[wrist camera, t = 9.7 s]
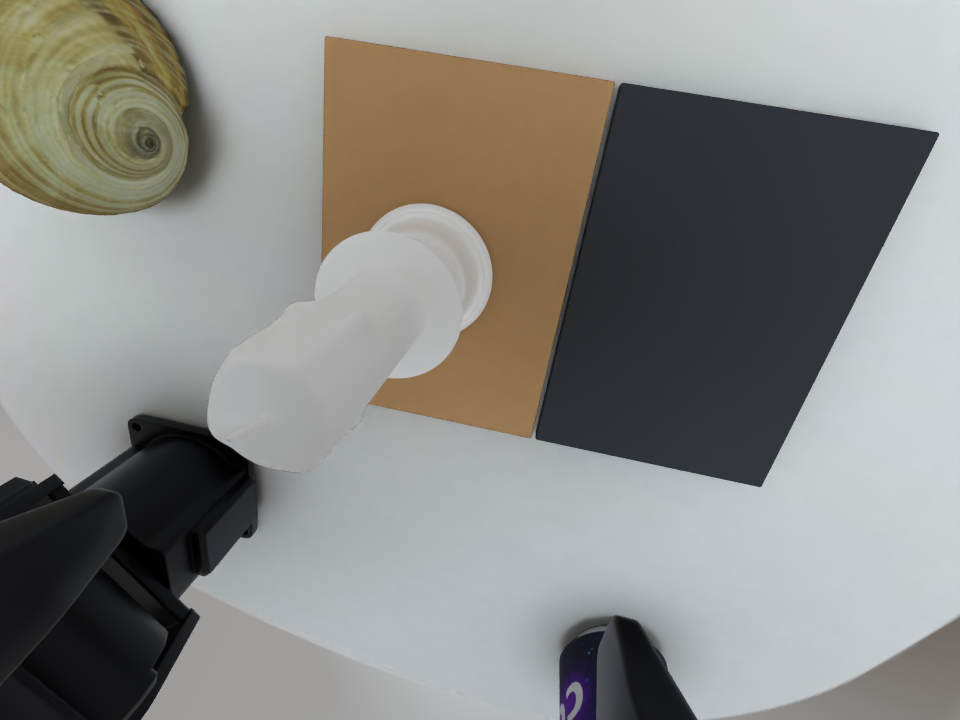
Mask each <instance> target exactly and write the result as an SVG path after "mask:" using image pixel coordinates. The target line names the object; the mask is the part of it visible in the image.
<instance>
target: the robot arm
mask: <svg viewBox="0 0 960 720" xmlns="http://www.w3.org/2000/svg"><path fill="white" fill-rule="evenodd" d="M128 428H129V433H130V439H131V444H132V447H131V448H129V449H128V450H126V451H125V452H123V453H122V454H121V455H119V456H118V457H116V458H115V459H113V460H112V461H110V462H109V463H108V464H106V465H105V466H103V467H102V468H100V469H99V470H98V471H96V472H95V473H93V474H92V475H90V476H89V477H87V478H86V479H85V480H83V481H82V482H80V483H79V484H77V485H76V486H74V487H73V488H72V489H70V490H69V491H68V490H67V489H66V488H65V487H64V486H63V484H64V482H63V481H62V480H61V479H60V478H59V477H58V476H57V475H56V474H53V475H52V476H50V477H49V478H47V479H46V480H44V481H43V482H41V483H39V484H37V483H36V482H35V481H33V482H31V481H28V480H24V479H21V478H18V477H15V478H13V479H11V480H10V481H8V482H6V483H5V484H3V485H1V486H0V720H141V719H142V717H143V716H144V714H145V713H146V712H147V710H148V709H149V707H150V706H151V704H152V703H153V701H154V699H155V698H156V696H157V694H158V692H159V690H160V689H161V687H162V685H163V683H164V681H165V680H166V678H167V676H168V674H169V672H170V671H171V668H172V667H173V665H174V663H175V662H176V660H177V658H178V656H179V654H180V653H181V651H182V649H183V647H184V645H185V644H186V642H187V640H188V638H189V636H190V635H191V633H192V631H193V629H194V627H195V625H196V624H197V622H198V620H199V618H200V616H199V615H198V614H197V613H196V612H195V611H194V610H193V609H192V608H191V609H189V608H188V607H186V606H185V605H184V604H183V603H182V602H181V601H180V600H179V598H180V596H181V595H182V594H183V593H184V592H185V590H186V589H187V588H188V587H189V586H190V585H191V583H192V582H193V581H194V580H195V579H196V578H197V576H198V575H201V576H206V575H208V574H210V573H211V572H212V571H213V570H214V568H215V567H216V566H217V565H218V564H219V562H220V561H221V560H222V559H223V557H224V556H225V555H226V554H227V553H228V551H229V550H230V549H231V548H232V547H233V545H234V544H235V543H236V542H237V540H238V539H239V538H240V537H242V538H250V537H251V536H252V535H253V534H254V533H255V531H256V529H257V526H256V517H257V502H256V484H255V480H254V474H253V462H252V461H250V460H248V459H246V458H245V457H243V456H242V455H240V454H239V453H238V452H237V451H235V450H234V449H233V448H231V447H230V446H228V445H226V444H224V443H222V442H220V441H219V440H217V439H216V438H215V437H214V436H213V435H212V433H211V432H210V430H207V429H203V428H198V427H194V426H189V425H185V424H180V423H176V422H171V421H167V420H162V419H158V418H153V417H149V416H144V415H137V416H135V417H133V418H132V419H130V420H129V421H128ZM596 720H697V718H696V716H695V715H694V713H693V711H692V710H691V708H690V706H689V705H688V703H687V701H686V700H685V698H684V696H683V695H682V693H681V691H680V690H679V688H678V687H677V685H676V683H675V682H674V680H673V678H672V677H671V675H670V673H669V672H668V670H667V668H666V667H665V665H664V663H663V662H662V660H661V658H660V657H659V655H658V653H657V652H656V650H655V648H654V647H653V645H652V643H651V642H650V640H649V638H648V637H647V635H646V633H645V632H644V630H643V628H642V627H641V625H640V624H639V623H638V622H637V621H636V620H634V619H630V618H626V617H622V616H618V615H614V616H613V617H612V618H611V619H610V621H609V623H608V626H607V628H606V631H605V633H604V635H603V638H602V640H601V642H600V645H599V649H598V655H597V703H596Z"/></svg>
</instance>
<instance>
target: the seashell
mask: <svg viewBox="0 0 960 720" xmlns="http://www.w3.org/2000/svg"><path fill="white" fill-rule="evenodd" d="M173 45H174V43H173V40H172V38H171V37H170V36H169V34H168V33H167V32H166V31H164V30H163V28H162V27H161V25H160V23H159V21H158V19H157V17H156V16H155V14H154V13H153V12H152V11H151V10H150V9H149V8H148V7H146V6H145V5H144V4H143V3H142V2H141V1H140V0H0V183H2V184H3V185H5V186H7V187H8V188H10V189H11V190H12V191H15V192H17V193H19V194H21V195H23V196H25V197H27V198H29V199H31V200H33V201H36V202H39V203H41V204H44V205H47V206H51V207H54V208H57V209H60V210H65V211H70V212H75V213H80V214H92V215H118V214H124V213H130V212H136V211H140V210H143V209H146V208H149V207H151V206H153V205H155V204H157V203H159V202H161V201H162V200H163V199H164V198H166V197H167V196H168V195H169V194H170V193H171V192H172V191H173V190H174V189H175V187H176V186H177V184H178V183H179V181H180V179H181V178H182V175H183V172H184V170H185V167H186V163H187V157H188V146H189V137H188V133H187V130H186V127H185V124H184V122H183V118H182V115H183V112H184V110H185V109H186V108H187V107H188V105H189V104H190V103H189V91H188V84H187V78H186V72H185V70H184V67H183V64H182V62H181V60H180V59H179V57H178V54H177V51H176V49H175V48H174V46H173Z"/></svg>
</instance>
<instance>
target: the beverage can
mask: <svg viewBox="0 0 960 720" xmlns="http://www.w3.org/2000/svg"><path fill="white" fill-rule="evenodd" d="M606 628H607V626H599V627H594V628H591V629H588V630H586V631H584V632H583V633H581V634H580V635H579V636H578V637H577V638H576V639H575V640H573V641H572V642H570V643H569V644H568V645H567V646H566V647H565V648H564V650H563V652H562V653H561V656H560V661H559V675H560V720H596V703H597V655H598V649H599V645H600V642H601V640H602V638H603V635H604V633H605V631H606ZM653 647H654V646H653ZM654 648H655V647H654ZM655 650H656V652H657V653H658V655H659V657H660V658H661V660H662V662H663V663H664V665H665V667H666V668H667V664H666V661H665V659H664V657H663V656H662V654H661V653H660V652H659V651H658V650H657V649H656V648H655ZM667 670H668V668H667Z"/></svg>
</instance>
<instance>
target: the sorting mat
mask: <svg viewBox="0 0 960 720" xmlns="http://www.w3.org/2000/svg"><path fill="white" fill-rule="evenodd" d="M614 86H615V82H614V81H608V80H602V79H596V78H589V77H583V76H577V75H570V74H564V73H558V72H551V71H545V70H538V69H532V68H526V67H519V66H513V65H507V64H500V63H494V62H488V61H481V60H475V59H469V58H462V57H456V56H449V55H443V54H437V53H430V52H424V51H418V50H411V49H405V48H399V47H392V46H386V45H380V44H373V43H367V42H360V41H354V40H348V39H341V38H335V37H329V36H326V37H325V66H324V138H323V210H322V262H323V261H324V259H325V258H326V256H327V255H328V254H329V252H330V251H331V250H332V249H333V248H334V247H335V246H337V245H338V244H339V243H340V242H342V241H343V240H345V239H347V238H349V237H351V236H353V235H356V234H359V233H362V232H367V231H370V230H371V228H372V227H373V226H374V225H375V223H376V222H377V221H378V220H379V219H380V218H382V217H383V216H384V215H385V214H387V213H388V212H390V211H392V210H394V209H396V208H399V207H401V206H405V205H409V204H418V203H424V204H433V205H437V206H441V207H444V208H447V209H449V210H451V211H453V212H455V213H457V214H458V215H460V216H461V217H462V218H464V219H465V220H466V221H467V222H469V223H470V224H471V225H472V226H473V228H474V229H475V230H476V231H477V232H478V234H479V235H480V237H481V238H482V240H483V242H484V243H485V245H486V248H487V250H488V253H489V256H490V260H491V264H492V274H493V278H492V288H491V292H490V296H489V299H488V301H487V304H486V306H485V308H484V309H483V311H482V312H481V314H480V315H479V316H478V318H477V319H476V320H475V321H474V322H473V323H472V324H470V325H469V326H468V327H466V328H465V329H463V330H462V331H460V334H459V337H458V340H457V342H456V344H455V346H454V348H453V349H452V351H451V352H450V354H449V355H448V356H447V357H446V358H445V359H444V360H443V361H442V362H441V363H440V364H439V365H438V366H436V367H435V368H433V369H432V370H430V371H428V372H426V373H423V374H421V375H418V376H414V377H409V378H387V379H386V381H385V382H384V383H383V385H382V386H381V387H380V389H379V390H378V391H377V393H376V394H375V395H374V397H373V398H372V399H371V401H370V402H369V403H368V404H372V405H377V406H381V407H386V408H391V409H396V410H400V411H405V412H410V413H414V414H419V415H424V416H428V417H433V418H438V419H442V420H447V421H452V422H457V423H461V424H466V425H471V426H475V427H480V428H485V429H489V430H494V431H499V432H504V433H508V434H513V435H518V436H522V437H527V438H531V436H532V432H533V427H534V423H535V419H536V415H537V411H538V406H539V402H540V398H541V394H542V389H543V385H544V381H545V377H546V373H547V368H548V364H549V360H550V356H551V351H552V347H553V343H554V339H555V335H556V330H557V326H558V322H559V318H560V313H561V309H562V305H563V301H564V297H565V292H566V288H567V284H568V280H569V275H570V271H571V267H572V263H573V259H574V254H575V250H576V246H577V242H578V237H579V233H580V229H581V225H582V221H583V216H584V212H585V208H586V204H587V199H588V195H589V191H590V187H591V183H592V178H593V174H594V170H595V166H596V162H597V157H598V153H599V149H600V145H601V140H602V136H603V132H604V128H605V124H606V119H607V115H608V111H609V107H610V102H611V98H612V94H613V90H614ZM938 136H939V133H938V132H932V131H926V130H920V129H913V128H907V127H901V126H894V125H888V124H882V123H875V122H869V121H862V120H856V119H850V118H843V117H837V116H831V115H824V114H818V113H812V112H805V111H799V110H793V109H786V108H780V107H773V106H767V105H761V104H754V103H748V102H742V101H735V100H729V99H723V98H716V97H710V96H704V95H697V94H691V93H684V92H678V91H672V90H665V89H659V88H653V87H646V86H640V85H634V84H627V83H622V84H621V85H620V87H619V90H618V94H617V98H616V103H615V107H614V111H613V115H612V119H611V123H610V127H609V132H608V136H607V140H606V144H605V148H604V152H603V156H602V161H601V165H600V169H599V173H598V177H597V181H596V186H595V190H594V194H593V198H592V202H591V206H590V210H589V215H588V219H587V223H586V227H585V231H584V235H583V240H582V244H581V248H580V252H579V256H578V260H577V264H576V269H575V273H574V277H573V281H572V285H571V289H570V293H569V298H568V302H567V306H566V310H565V314H564V318H563V323H562V327H561V331H560V335H559V339H558V343H557V347H556V352H555V356H554V360H553V364H552V368H551V372H550V377H549V381H548V385H547V389H546V393H545V397H544V401H543V406H542V410H541V414H540V418H539V422H538V426H537V430H536V439H537V440H542V441H546V442H551V443H556V444H560V445H565V446H570V447H574V448H579V449H584V450H589V451H593V452H598V453H603V454H607V455H612V456H617V457H621V458H626V459H631V460H635V461H640V462H645V463H650V464H654V465H659V466H664V467H668V468H673V469H678V470H682V471H687V472H692V473H697V474H701V475H706V476H711V477H715V478H720V479H725V480H729V481H734V482H739V483H744V484H748V485H753V486H758V487H761V486H762V484H763V482H764V480H765V478H766V476H767V474H768V472H769V470H770V468H771V466H772V464H773V462H774V461H775V459H776V457H777V455H778V453H779V451H780V449H781V447H782V445H783V443H784V441H785V439H786V437H787V435H788V433H789V431H790V429H791V427H792V425H793V423H794V421H795V419H796V417H797V415H798V413H799V411H800V409H801V407H802V405H803V403H804V401H805V399H806V397H807V395H808V393H809V391H810V389H811V387H812V385H813V383H814V381H815V379H816V377H817V375H818V373H819V371H820V370H821V368H822V366H823V364H824V362H825V360H826V358H827V356H828V354H829V352H830V350H831V348H832V346H833V344H834V342H835V340H836V338H837V336H838V334H839V332H840V330H841V328H842V326H843V324H844V322H845V320H846V318H847V316H848V314H849V312H850V310H851V308H852V306H853V304H854V302H855V300H856V298H857V296H858V294H859V292H860V290H861V288H862V286H863V284H864V282H865V281H866V279H867V277H868V275H869V273H870V271H871V269H872V267H873V265H874V263H875V261H876V259H877V257H878V255H879V253H880V251H881V249H882V247H883V245H884V243H885V241H886V239H887V237H888V235H889V233H890V231H891V229H892V227H893V225H894V223H895V221H896V219H897V217H898V215H899V213H900V211H901V209H902V207H903V205H904V203H905V201H906V199H907V197H908V195H909V193H910V191H911V190H912V188H913V186H914V184H915V182H916V180H917V178H918V176H919V174H920V172H921V170H922V168H923V166H924V164H925V162H926V160H927V158H928V156H929V154H930V152H931V150H932V148H933V146H934V144H935V142H936V140H937V138H938Z"/></svg>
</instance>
